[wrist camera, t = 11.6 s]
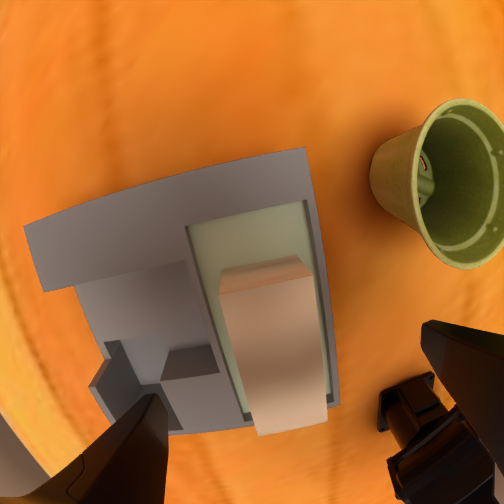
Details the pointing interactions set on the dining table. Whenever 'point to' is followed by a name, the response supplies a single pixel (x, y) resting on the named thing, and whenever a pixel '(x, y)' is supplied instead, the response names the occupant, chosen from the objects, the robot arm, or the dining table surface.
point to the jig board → (183, 280)
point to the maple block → (276, 342)
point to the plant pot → (447, 182)
